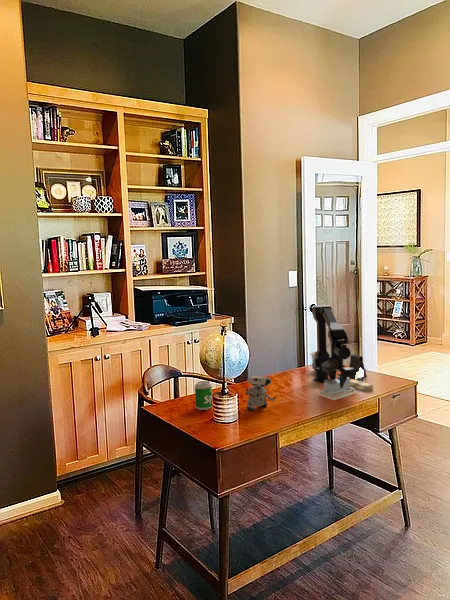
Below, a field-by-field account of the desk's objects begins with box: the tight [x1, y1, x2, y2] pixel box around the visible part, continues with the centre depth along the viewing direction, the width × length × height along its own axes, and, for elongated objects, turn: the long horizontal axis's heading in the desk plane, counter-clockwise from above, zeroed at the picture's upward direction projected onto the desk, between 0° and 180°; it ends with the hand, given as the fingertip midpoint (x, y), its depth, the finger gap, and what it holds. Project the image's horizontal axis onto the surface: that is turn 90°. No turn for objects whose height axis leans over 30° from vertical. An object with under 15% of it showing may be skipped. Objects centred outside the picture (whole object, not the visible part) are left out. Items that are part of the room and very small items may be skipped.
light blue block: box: [323, 376, 350, 393], centre depth 235 cm, size 12×5×5 cm, turn 123°
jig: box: [318, 387, 357, 401], centre depth 236 cm, size 15×10×2 cm, turn 123°
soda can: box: [194, 380, 213, 411], centre depth 223 cm, size 8×8×12 cm
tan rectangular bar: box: [350, 379, 374, 393], centre depth 245 cm, size 14×4×3 cm, turn 32°
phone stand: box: [348, 354, 368, 379], centre depth 263 cm, size 9×6×12 cm, turn 124°
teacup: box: [310, 350, 331, 362], centre depth 277 cm, size 12×15×10 cm
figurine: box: [245, 375, 277, 412], centre depth 219 cm, size 9×12×15 cm
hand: (337, 386), depth 236 cm, fingers closed on light blue block, 5 cm apart
